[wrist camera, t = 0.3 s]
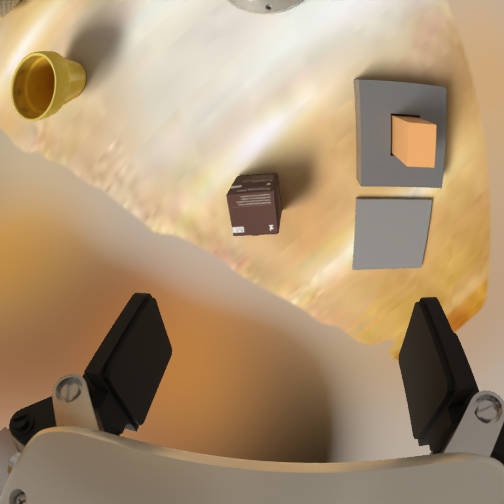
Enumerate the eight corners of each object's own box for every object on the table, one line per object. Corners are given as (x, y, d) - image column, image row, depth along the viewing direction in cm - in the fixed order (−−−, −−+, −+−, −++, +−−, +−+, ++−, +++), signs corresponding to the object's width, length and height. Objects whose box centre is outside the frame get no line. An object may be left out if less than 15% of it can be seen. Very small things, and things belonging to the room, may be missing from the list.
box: (278, 172, 43) (274, 190, 37) (282, 211, 46) (279, 234, 40) (235, 175, 44) (225, 193, 38) (241, 214, 47) (232, 237, 41)
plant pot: (107, 68, 38) (67, 71, 29) (77, 121, 42) (38, 135, 34) (68, 40, 35) (27, 41, 27) (42, 91, 40) (2, 101, 31)
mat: (356, 197, 43) (356, 199, 43) (430, 198, 41) (432, 200, 41) (352, 267, 50) (352, 269, 49) (420, 265, 47) (421, 267, 47)
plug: (386, 113, 36) (408, 122, 28) (410, 114, 35) (436, 124, 28) (386, 148, 39) (407, 166, 31) (409, 149, 38) (434, 167, 30)
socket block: (353, 79, 35) (358, 79, 32) (435, 85, 33) (446, 87, 30) (356, 178, 42) (360, 186, 39) (432, 179, 40) (441, 187, 37)
